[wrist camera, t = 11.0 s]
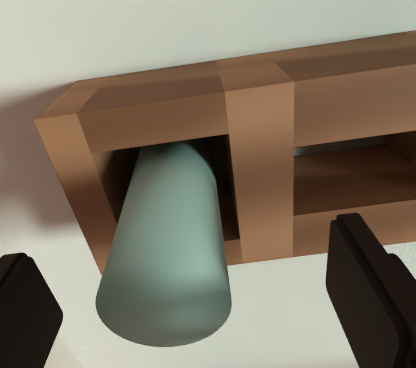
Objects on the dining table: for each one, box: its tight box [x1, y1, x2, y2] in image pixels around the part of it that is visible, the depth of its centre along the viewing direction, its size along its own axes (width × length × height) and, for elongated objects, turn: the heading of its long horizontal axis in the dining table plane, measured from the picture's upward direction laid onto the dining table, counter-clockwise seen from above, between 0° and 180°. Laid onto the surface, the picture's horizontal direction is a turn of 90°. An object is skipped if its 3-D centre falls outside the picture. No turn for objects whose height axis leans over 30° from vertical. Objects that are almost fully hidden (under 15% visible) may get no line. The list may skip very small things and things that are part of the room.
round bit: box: [96, 136, 232, 347], centre depth 13 cm, size 4×4×10 cm
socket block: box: [33, 31, 416, 275], centre depth 15 cm, size 8×16×5 cm, turn 98°
